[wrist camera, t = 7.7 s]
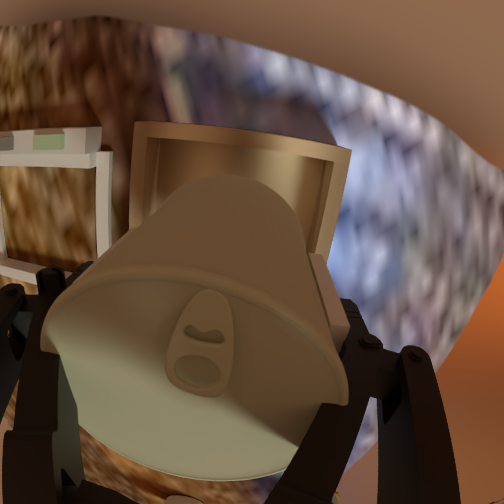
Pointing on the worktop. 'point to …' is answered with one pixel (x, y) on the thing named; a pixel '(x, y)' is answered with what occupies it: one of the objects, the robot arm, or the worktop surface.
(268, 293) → the can
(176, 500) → the pill bottle
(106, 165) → the white square frame
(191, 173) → the open box
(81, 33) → the worktop surface
